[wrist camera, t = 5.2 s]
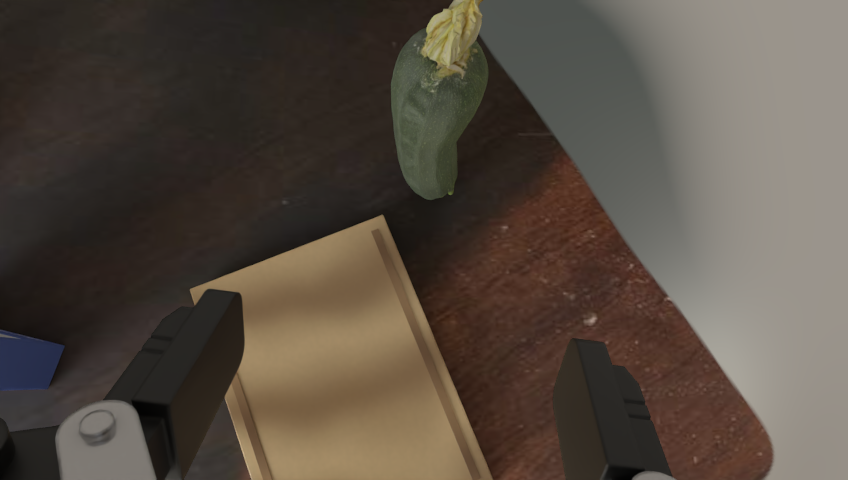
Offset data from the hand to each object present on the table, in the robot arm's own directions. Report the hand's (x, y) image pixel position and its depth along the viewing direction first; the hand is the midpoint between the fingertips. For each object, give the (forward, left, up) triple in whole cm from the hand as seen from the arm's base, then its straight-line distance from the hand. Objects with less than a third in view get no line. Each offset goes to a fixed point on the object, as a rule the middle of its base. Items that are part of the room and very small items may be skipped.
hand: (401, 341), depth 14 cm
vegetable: (-11, +6, -23) cm, 26 cm away
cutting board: (0, -4, -23) cm, 23 cm away
